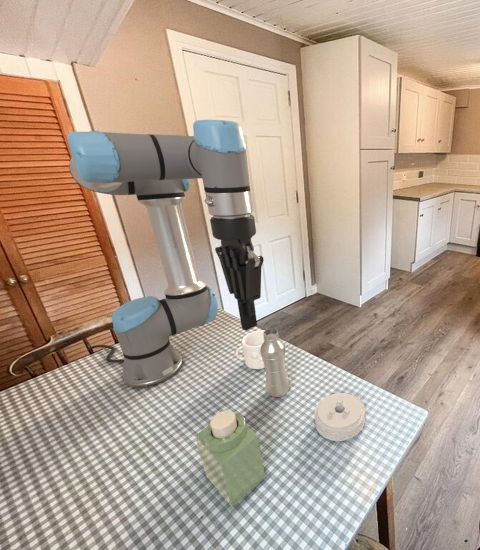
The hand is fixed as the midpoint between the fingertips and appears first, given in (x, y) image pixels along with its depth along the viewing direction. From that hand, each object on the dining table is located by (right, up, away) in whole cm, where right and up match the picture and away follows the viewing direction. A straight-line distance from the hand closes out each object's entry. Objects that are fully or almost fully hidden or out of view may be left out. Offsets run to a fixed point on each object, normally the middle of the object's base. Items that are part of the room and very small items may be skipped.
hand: (249, 326), depth 64 cm
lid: (+18, -27, +13) cm, 35 cm away
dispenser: (-3, -32, 0) cm, 32 cm away
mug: (-11, -18, +35) cm, 41 cm away
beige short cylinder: (-3, -19, -5) cm, 20 cm away
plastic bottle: (0, -23, +23) cm, 32 cm away
